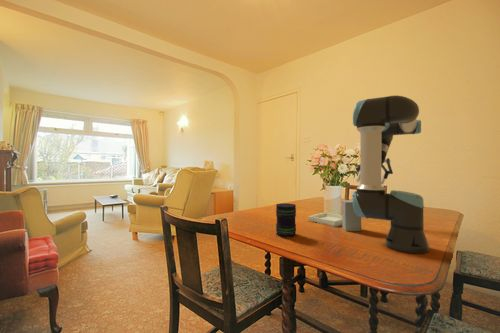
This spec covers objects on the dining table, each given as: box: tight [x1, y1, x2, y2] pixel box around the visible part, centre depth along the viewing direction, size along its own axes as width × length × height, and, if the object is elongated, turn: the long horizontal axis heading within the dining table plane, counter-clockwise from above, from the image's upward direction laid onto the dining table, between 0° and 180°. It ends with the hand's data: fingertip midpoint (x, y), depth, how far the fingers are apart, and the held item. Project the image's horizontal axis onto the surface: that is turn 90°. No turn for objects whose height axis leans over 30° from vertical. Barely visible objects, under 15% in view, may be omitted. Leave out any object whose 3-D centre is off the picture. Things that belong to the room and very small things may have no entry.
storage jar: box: [275, 202, 297, 238], centre depth 119 cm, size 10×10×15 cm
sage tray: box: [307, 212, 342, 228], centre depth 146 cm, size 18×18×3 cm
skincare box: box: [341, 199, 362, 232], centre depth 127 cm, size 8×7×16 cm
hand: (369, 182), depth 137 cm, fingers open, 13 cm apart
